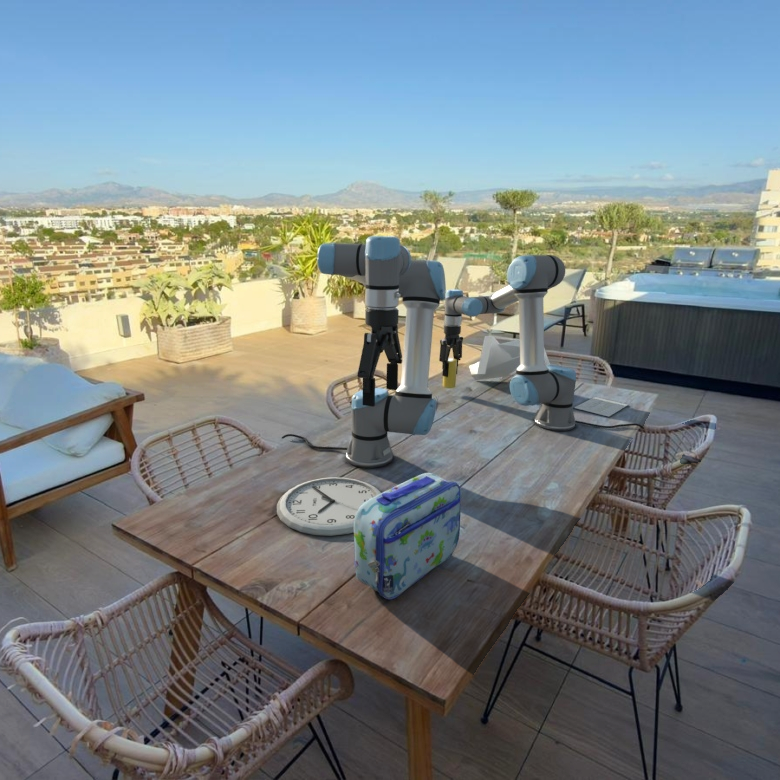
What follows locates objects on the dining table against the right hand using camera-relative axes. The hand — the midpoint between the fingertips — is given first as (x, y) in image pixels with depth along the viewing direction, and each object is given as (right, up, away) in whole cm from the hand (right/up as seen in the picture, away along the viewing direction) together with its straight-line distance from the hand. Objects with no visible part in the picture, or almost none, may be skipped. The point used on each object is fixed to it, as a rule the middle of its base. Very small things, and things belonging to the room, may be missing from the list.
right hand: (449, 374), depth 240 cm
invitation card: (+64, -14, -13) cm, 67 cm away
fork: (-10, -14, -16) cm, 23 cm away
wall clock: (-43, -39, -97) cm, 113 cm away
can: (0, -5, +2) cm, 5 cm away
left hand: (-30, -9, -115) cm, 119 cm away
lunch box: (-23, -47, -124) cm, 135 cm away
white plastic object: (+30, -6, +13) cm, 33 cm away
